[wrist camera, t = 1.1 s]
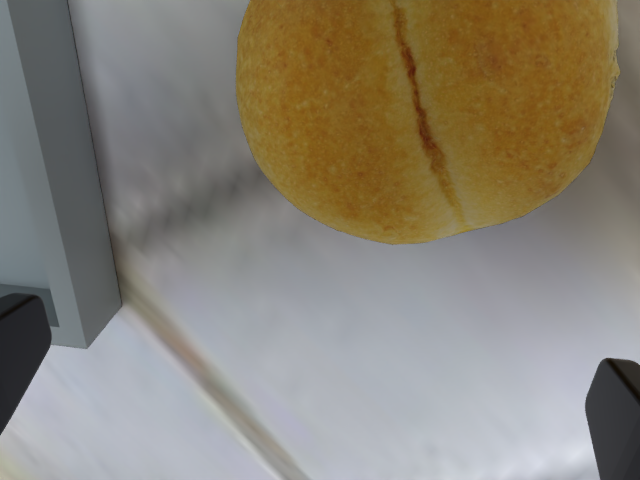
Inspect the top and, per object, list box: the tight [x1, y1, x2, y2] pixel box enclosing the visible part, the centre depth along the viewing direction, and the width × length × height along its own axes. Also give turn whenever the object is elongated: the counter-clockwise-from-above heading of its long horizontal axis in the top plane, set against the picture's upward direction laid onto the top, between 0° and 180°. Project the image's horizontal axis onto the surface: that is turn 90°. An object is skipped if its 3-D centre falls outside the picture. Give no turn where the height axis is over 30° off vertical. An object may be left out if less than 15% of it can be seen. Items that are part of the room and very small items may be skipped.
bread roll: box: [236, 0, 620, 245], centre depth 12 cm, size 8×9×4 cm
